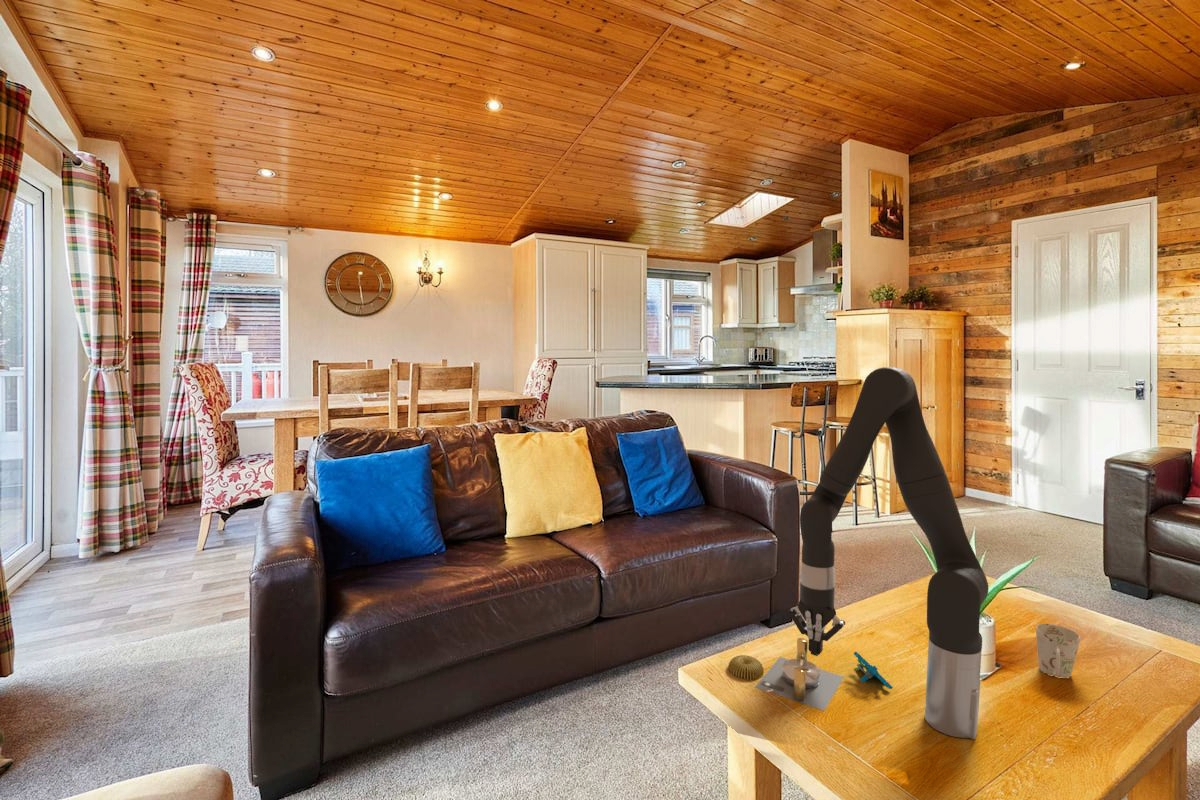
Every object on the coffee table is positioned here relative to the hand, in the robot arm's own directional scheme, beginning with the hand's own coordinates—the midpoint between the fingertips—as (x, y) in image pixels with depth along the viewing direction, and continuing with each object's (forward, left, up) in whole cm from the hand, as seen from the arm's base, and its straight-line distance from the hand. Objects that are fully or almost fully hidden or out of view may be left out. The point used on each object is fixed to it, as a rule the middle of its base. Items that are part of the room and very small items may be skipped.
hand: (815, 653), depth 140 cm
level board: (+1, +6, -6) cm, 9 cm away
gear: (-11, -4, -6) cm, 14 cm away
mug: (-46, -34, -6) cm, 57 cm away
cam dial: (+1, +6, -4) cm, 8 cm away
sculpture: (+13, +9, -6) cm, 17 cm away
